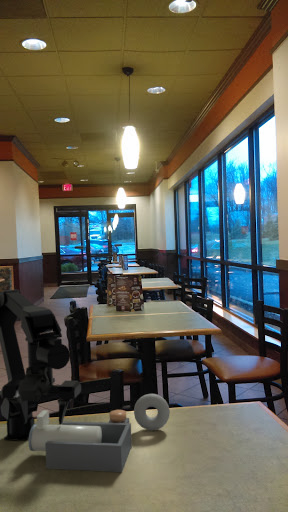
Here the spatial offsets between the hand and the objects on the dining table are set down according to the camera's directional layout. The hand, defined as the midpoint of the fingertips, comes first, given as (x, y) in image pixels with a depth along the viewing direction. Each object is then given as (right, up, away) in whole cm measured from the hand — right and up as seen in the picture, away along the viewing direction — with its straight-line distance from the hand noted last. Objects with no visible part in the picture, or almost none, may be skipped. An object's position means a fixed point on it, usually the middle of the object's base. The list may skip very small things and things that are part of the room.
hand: (43, 423), depth 102 cm
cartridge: (+6, -6, -1) cm, 9 cm away
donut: (+27, -7, +12) cm, 31 cm away
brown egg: (+18, -5, +6) cm, 20 cm away
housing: (+13, -7, +1) cm, 15 cm away
